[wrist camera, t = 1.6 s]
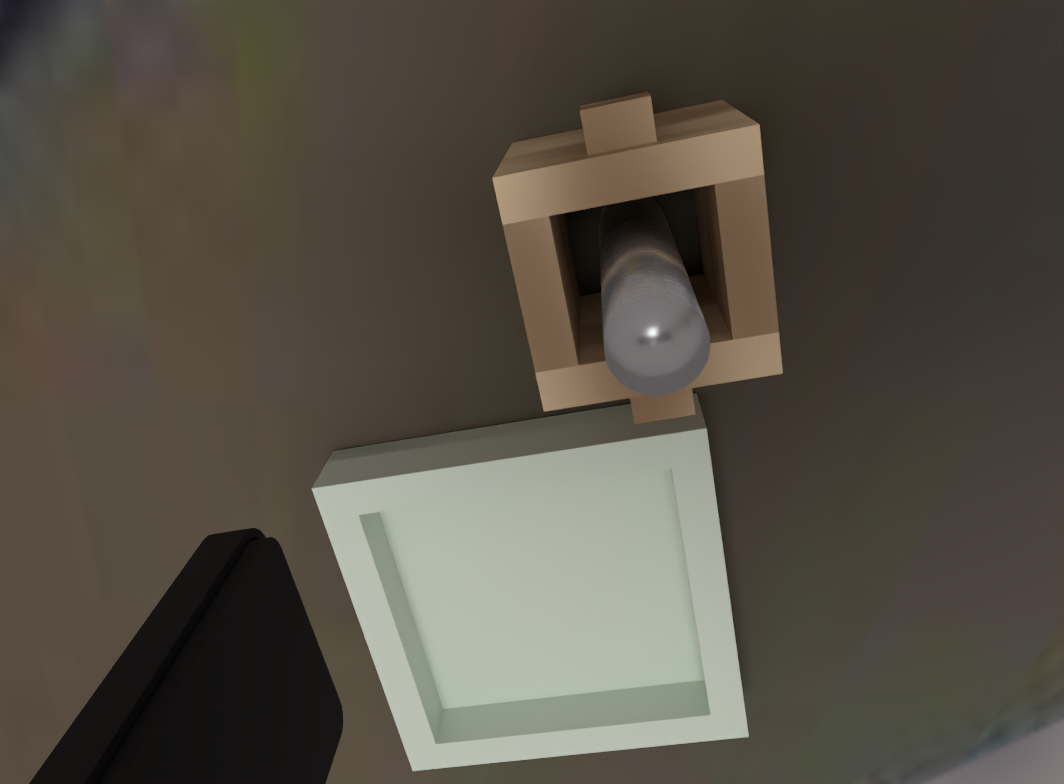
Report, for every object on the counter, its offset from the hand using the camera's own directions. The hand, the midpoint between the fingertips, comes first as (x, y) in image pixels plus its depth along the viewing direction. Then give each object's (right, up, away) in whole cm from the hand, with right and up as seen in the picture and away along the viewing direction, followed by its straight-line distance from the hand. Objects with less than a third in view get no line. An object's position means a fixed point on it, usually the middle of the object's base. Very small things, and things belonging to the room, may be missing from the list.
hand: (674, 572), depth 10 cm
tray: (-1, -4, +21) cm, 21 cm away
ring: (+1, +7, +15) cm, 17 cm away
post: (+1, +7, +15) cm, 17 cm away
